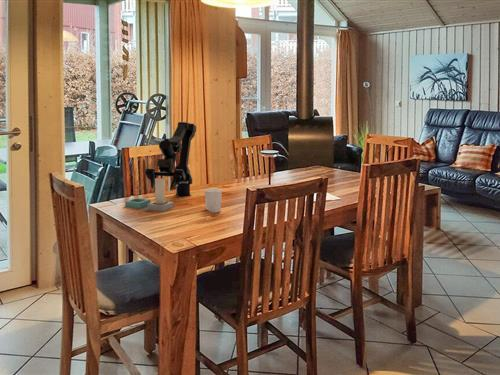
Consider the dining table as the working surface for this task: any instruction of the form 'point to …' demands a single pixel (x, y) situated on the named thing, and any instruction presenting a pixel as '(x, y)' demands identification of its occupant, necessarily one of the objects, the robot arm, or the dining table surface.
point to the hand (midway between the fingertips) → (161, 189)
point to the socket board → (148, 205)
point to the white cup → (213, 199)
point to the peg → (160, 191)
